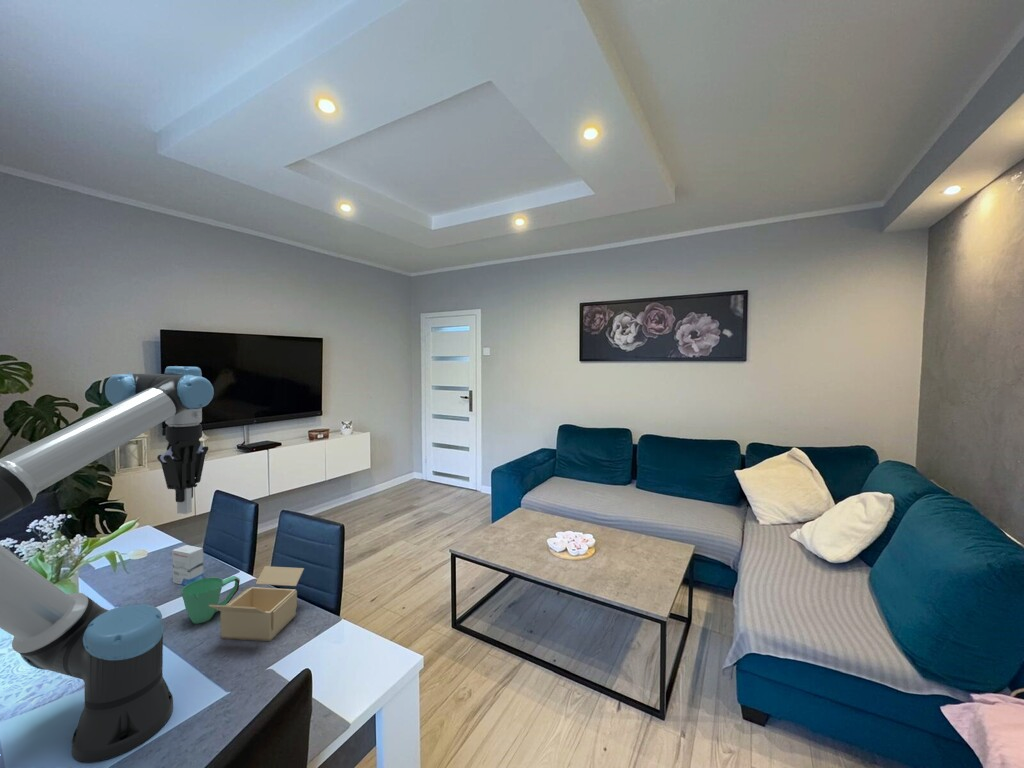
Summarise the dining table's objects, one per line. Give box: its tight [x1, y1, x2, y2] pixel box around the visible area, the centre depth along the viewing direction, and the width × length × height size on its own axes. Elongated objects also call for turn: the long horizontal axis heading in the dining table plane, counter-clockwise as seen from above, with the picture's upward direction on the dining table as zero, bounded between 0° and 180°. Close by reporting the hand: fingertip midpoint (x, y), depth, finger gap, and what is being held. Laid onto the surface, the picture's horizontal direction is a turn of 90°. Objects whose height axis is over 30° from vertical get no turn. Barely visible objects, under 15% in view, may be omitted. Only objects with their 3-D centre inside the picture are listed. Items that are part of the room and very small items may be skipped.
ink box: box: [171, 544, 205, 587], centre depth 140 cm, size 9×5×12 cm, turn 73°
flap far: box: [255, 565, 305, 587], centre depth 126 cm, size 1×13×6 cm
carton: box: [220, 586, 298, 642], centre depth 117 cm, size 12×15×8 cm
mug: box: [181, 575, 241, 624], centre depth 122 cm, size 15×10×10 cm
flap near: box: [209, 604, 266, 614], centre depth 108 cm, size 1×13×6 cm
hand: (184, 512), depth 107 cm, fingers closed
